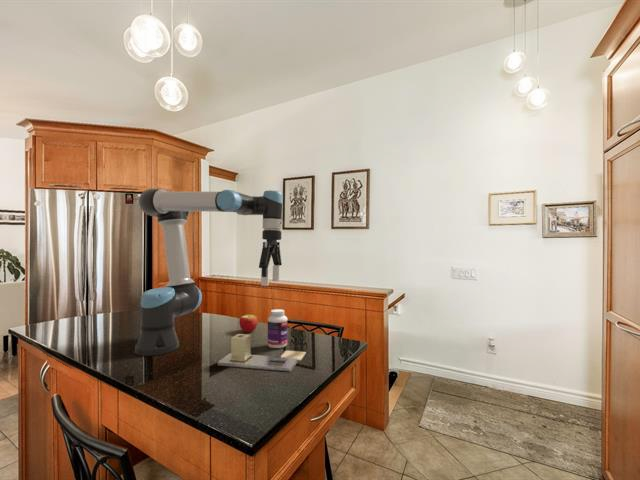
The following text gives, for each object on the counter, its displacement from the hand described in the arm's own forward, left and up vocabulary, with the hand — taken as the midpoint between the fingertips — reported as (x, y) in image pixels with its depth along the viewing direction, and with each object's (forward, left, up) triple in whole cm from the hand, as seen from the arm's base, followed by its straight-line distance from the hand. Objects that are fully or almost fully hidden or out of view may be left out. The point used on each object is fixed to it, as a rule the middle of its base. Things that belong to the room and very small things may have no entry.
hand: (270, 283), depth 122 cm
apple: (-18, +20, -26) cm, 38 cm away
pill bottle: (+2, +3, -26) cm, 27 cm away
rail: (+1, -15, -26) cm, 30 cm away
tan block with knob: (-5, -15, -26) cm, 30 cm away
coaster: (+11, -6, -26) cm, 29 cm away
